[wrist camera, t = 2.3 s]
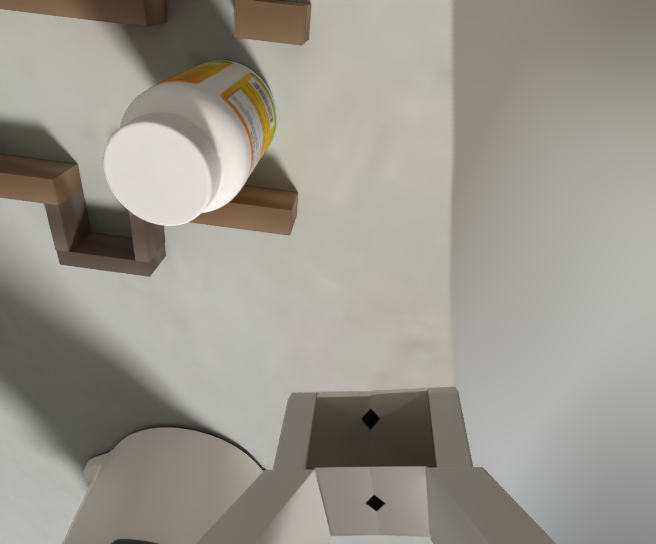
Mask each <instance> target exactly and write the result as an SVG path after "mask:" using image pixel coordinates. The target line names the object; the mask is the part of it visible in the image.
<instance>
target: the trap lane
mask: <svg viewBox="0 0 656 544" xmlns="http://www.w3.org/2000/svg"><path fill="white" fill-rule="evenodd" d="M0 9H4V10H13V11H21V12H29V13H38V14H46V15H54V16H62V17H71V18H79V19H87V20H95V21H104V22H112V23H120V24H129V25H137V26H145V27H146V26H151V25H156V24H161V23H166V22H167V12H166V0H0ZM310 15H311V4H306V3H298V2H290V1H281V0H234V18H235V37H236V38H244V39H253V40H261V41H269V42H278V43H286V44H294V45H303V44H304V43H305V42H306V41H307V40H309V29H310ZM0 198H8V199H15V200H23V201H31V202H38V203H44V204H45V208H46V212H47V216H48V221H49V225H50V229H51V233H52V237H53V241H54V245H55V249H56V250H57V254H58V258H59V263H60V265H67V266H75V267H82V268H90V269H97V270H105V271H112V272H120V273H127V274H135V275H142V276H149V277H150V276H151V274H152V273H153V272H154V270H155V269H156V268H157V267H158V265H159V264H160V263H161V261H162V260H163V259H164V257H165V256H166V253H165V235H164V225H158V224H154V223H151V222H148V221H145V220H143V219H141V218H139V217H137V216H136V215H134V214H133V213H131V212H130V211H129V210H128V211H129V218H130V225H131V232H132V238H129V237H121V236H114V235H106V234H98V233H91V231H90V225H89V220H88V215H87V210H86V205H85V199H84V194H83V189H82V184H81V179H80V173H79V168H78V164H72V163H64V162H57V161H49V160H41V159H33V158H25V157H18V156H10V155H2V154H0ZM297 202H298V192H290V191H282V190H274V189H267V188H259V187H251V186H243V187H242V189H241V190H240V191H239V192H238V194H237V195H236V196H235V197H234V198H233V199H232V200H231V201H230V202H228V203H227V204H226V205H224V206H222V207H220V208H218V209H216V210H213V211H210V212H206V213H201V214H200V215H199V216H198V217H196V218H195V219H193V220H191V221H189V222H191V223H199V224H206V225H214V226H222V227H229V228H237V229H245V230H252V231H260V232H268V233H275V234H283V235H290V234H291V231H292V228H293V225H294V222H295V219H296V216H297Z"/></svg>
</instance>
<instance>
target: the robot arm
mask: <svg viewBox="0 0 656 544" xmlns="http://www.w3.org/2000/svg"><path fill="white" fill-rule="evenodd" d="M83 474H84V476H85V478H86V480H87V481H88V483H89V485H90V487H89V489H88V491H87V493H86V495H85V497H84V499H83V501H82V503H81V505H80V507H79V509H78V512H77V514H76V516H75V518H74V520H73V522H72V524H71V526H70V528H69V530H68V532H67V535H66V537H65V539H64V541H63V543H62V544H329V543H330V541H331V540H332V539H331V536H353V535H394V536H422V537H431V541H432V542H433V544H556V543H555V542H554V541H553V540H552V539H551V538H550V537H549V536H548V535H547V534H546V533H545V531H544V530H543V529H541V527H540V526H539V525H538V524H537V523H536V522H535V521H534V520H533V519H532V518H531V517H530V516H529V515H528V514H527V513H526V512H525V511H524V510H523V509H522V508H521V507H520V506H519V505H518V504H517V502H516V501H515V500H514V499H513V498H512V497H511V496H510V495H509V494H508V493H507V492H506V491H505V490H504V489H503V488H502V487H501V486H500V485H499V484H498V483H497V482H496V481H495V480H494V479H493V477H491V475H489V473H488V472H487V471H486V470H485V469H484V468H483V467H473V464H472V459H471V454H470V449H469V443H468V439H467V433H466V429H465V423H464V418H463V413H462V409H461V404H460V398H459V393H458V390H457V389H456V387H439V388H427V390H426V388H417V389H396V390H375V391H348V392H310V393H292V394H291V395H290V397H289V399H288V402H287V407H286V411H285V416H284V420H283V425H282V430H281V434H280V439H279V444H278V448H277V453H276V457H275V462H274V467H273V470H264V471H263V470H262V469H261V468H260V467H259V466H258V465H257V464H256V463H255V462H254V461H253V460H252V459H251V458H250V457H249V456H248V455H247V454H245V453H244V452H243V451H241V450H240V449H238V448H237V447H235V446H233V445H232V444H230V443H228V442H226V441H224V440H222V439H219V438H217V437H214V436H211V435H208V434H205V433H202V432H198V431H193V430H188V429H181V428H152V429H146V430H142V431H139V432H136V433H133V434H131V435H129V436H127V437H126V438H124V439H123V440H121V441H120V442H119V443H118V444H117V445H116V447H115V448H114V449H113V450H112V451H110V452H109V453H106V454H103V455H100V456H97V457H94V458H92V459H90V460H89V461H88V463H87V465H86V467H85V469H84V471H83Z"/></svg>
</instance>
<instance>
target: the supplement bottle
mask: <svg viewBox="0 0 656 544" xmlns="http://www.w3.org/2000/svg"><path fill="white" fill-rule="evenodd" d="M276 126H277V112H276V106H275V102H274V99H273V97H272V94H271V92H270V90H269V89H268V87H267V85H266V84H265V83H264V81H263V80H262V79H261V78H260V77H259V76H258V75H257V74H256V73H255V72H253V71H252V70H251V69H249V68H248V67H246V66H244V65H242V64H239V63H237V62H233V61H229V60H212V61H208V62H205V63H202V64H199V65H197V66H195V67H193V68H191V69H189V70H187V71H185V72H183V73H181V74H179V75H177V76H174V77H172V78H170V79H168V80H166V81H163V82H161V83H159V84H157V85H155V86H153V87H151V88H149V89H148V90H146V91H144V92H143V93H141V94H140V95H139V96H137V97H136V98H135V99H134V100H133V102H132V103H131V104H130V105H129V107H128V108H127V110H126V112H125V114H124V116H123V119H122V122H121V126H120V128H119V129H118V130H117V131H116V132H115V133H114V134H113V135H112V136H111V138H110V139H109V141H108V143H107V145H106V148H105V151H104V157H103V167H104V173H105V177H106V180H107V183H108V185H109V187H110V189H111V191H112V192H113V194H114V195H115V197H116V198H117V199H118V200H119V202H120V203H121V204H122V205H123V206H124V207H125V208H126V209H128V210H129V211H130V212H131V213H133V214H134V215H136V216H137V217H139V218H141V219H143V220H145V221H148V222H151V223H154V224H158V225H165V226H174V225H180V224H184V223H187V222H189V221H191V220H193V219H195V218H196V217H198V216H199V215H200V214H201V213H206V212H210V211H213V210H216V209H218V208H220V207H222V206H224V205H226V204H227V203H228V202H230V201H231V200H232V199H233V198H234V197H235V196H236V195H237V194H238V192H239V191H240V190H241V189H242V187H243V186H244V184H245V183H246V181H247V179H248V178H249V176H250V174H251V173H252V171H253V170H254V168H255V167H256V165H257V164H258V162H259V160H260V159H261V157H262V156H263V154H264V153H265V151H266V150H267V148H268V147H269V145H270V143H271V141H272V139H273V137H274V134H275V131H276Z"/></svg>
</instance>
